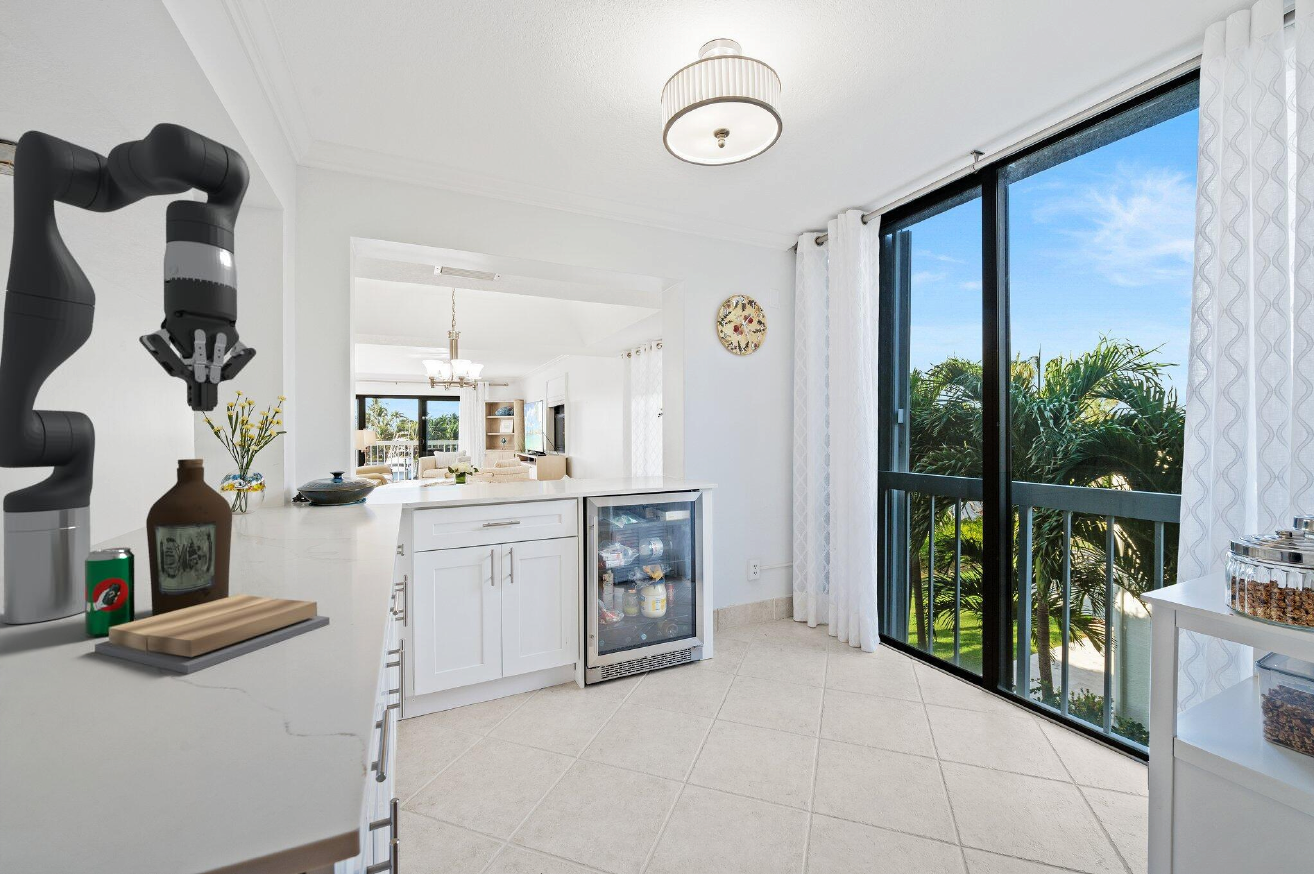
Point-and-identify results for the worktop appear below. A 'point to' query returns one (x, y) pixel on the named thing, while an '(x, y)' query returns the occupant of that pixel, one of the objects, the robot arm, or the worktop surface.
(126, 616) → the soda can
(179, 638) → the brown wooden board
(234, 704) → the worktop surface
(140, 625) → the oak plank
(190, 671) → the gray flat board
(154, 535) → the brown bottle
